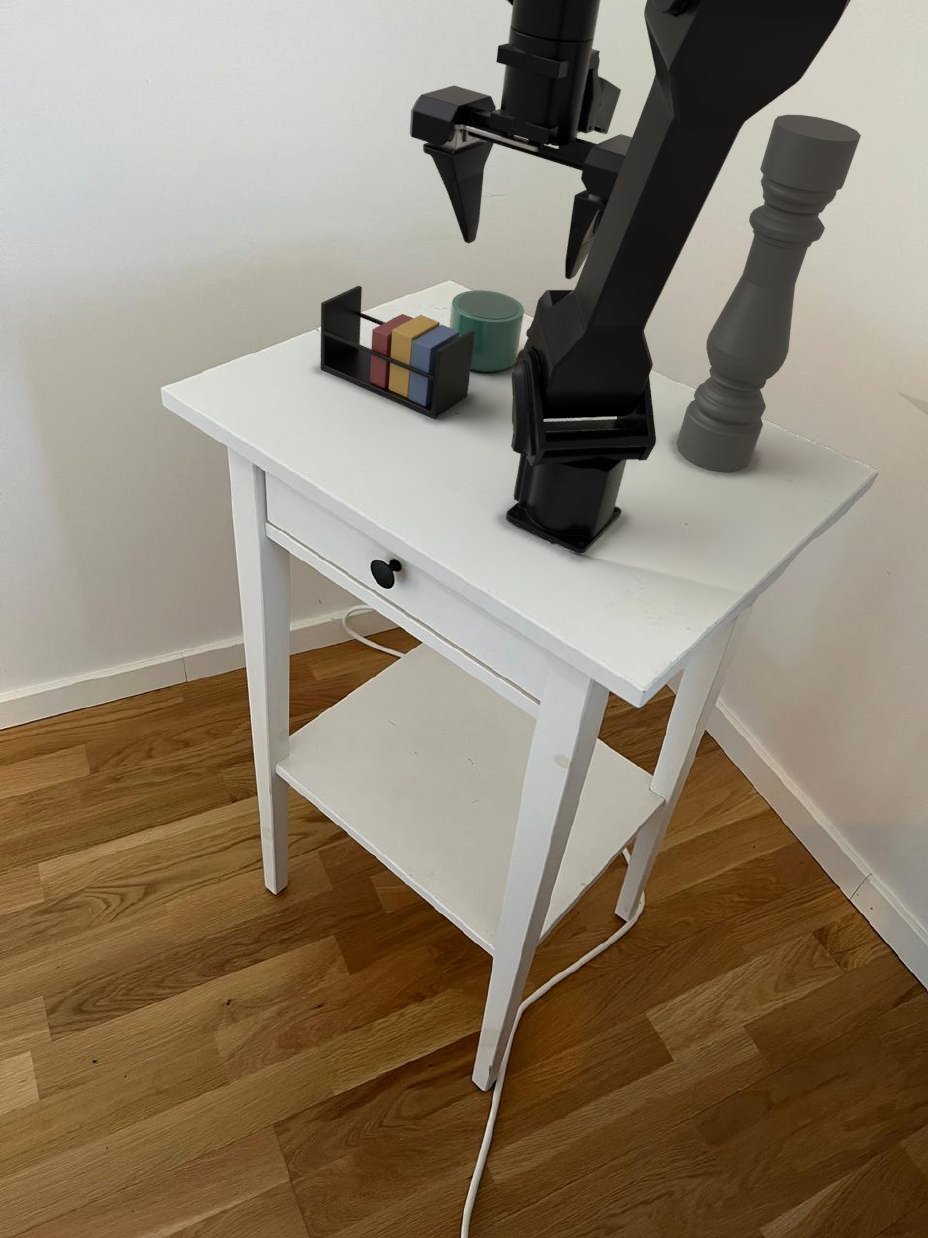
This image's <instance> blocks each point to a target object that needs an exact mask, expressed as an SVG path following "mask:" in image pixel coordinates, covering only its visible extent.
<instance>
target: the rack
mask: <svg viewBox="0 0 928 1238" xmlns="http://www.w3.org/2000/svg"><path fill="white" fill-rule="evenodd" d="M362 293H363V287H362V286H361V285H357V286H354V287H352V288H350V289H348V290H346V291H343V292H341V293H339V294H337V295H335V296H333V297H331V298H328V299H326V300H324V301H322V302H321V303H320V370H322V371H325V372H327V373H329V374H331V375H333V376H335V377H338V378H340V379H342V380H345V381H347V382H349V383H352V384H354V385H357V386H358V387H360V388H363V389H366V390H368V391H370V392H372V393H374V394H377V395H379V396H381V397H383V398H386V399H388V400H390V401H393V402H395V403H397V404H400V405H401V406H404V407H406V408H409V409H411V410H413V411H415V412H418V413H419V414H421V415H425V416H427V417H429V418H431V419H433V420H434V419H436V418H438V417H439V416H441V415H442V414H444V413H445V412H447V411H448V410H450V409H452V408H453V407H455V406H456V405H457V404H459V403H460V402H462V401H464V400H465V399H467V398H468V395H469V394H468V393H469V392H468V391H469V384H470V376H471V370H470V369H471V361H472V352H473V344H474V336H475V331H473V330H470V331H469V332H467V333H465V334H463V335H462V336H460V337H458V338H457V339H455V340H453V341H452V342H450V343H448V344H446V345H445V346H443V347H441V348H440V349H438V350H437V353H436V364H435V374H434V375H431V374H429V373H427V372H424V371H422V370H419V369H417V368H415V367H412V366H410V365H408V364H405V363H403V362H400V361H398V360H396V359H393V358H391V357H389V356H386V355H384V354H381V353H379V352H377V351H374V350H372V349H371V348H369V347H367V346H365V345H362V344H361V320H362V319H364V320H366V321H369V322H371V323H373V324H376V325H378V326H380V325H382V324H384V323H386V321H383V320H381V319H379V318H376V317H373V316H372V315H369V314H366V313H363V312H362V297H363V296H362V295H363V294H362ZM371 355H374V356H376V357H379V358H381V359H383V360H386V361H388V362H390V363H393V364H395V365H397V366H400V367H402V368H405V369H407V370H409V371H412V372H414V373H416V374H419V375H421V376H424V377H426V378H428V379H431V380H433V381H434V385H433V396H432V403H430V404H428V405H427V406H423V405H421V404H419V403H417V402H414V401H412V400H410V399H408V397H405V396H403V395H400V394H398V393H396V392H393V391H391V390H389V386H388V387H386V388H382V387H380V386H378V385H376V384H373V383H371V382H370V370H371Z"/></svg>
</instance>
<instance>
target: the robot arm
mask: <svg viewBox="0 0 928 1238" xmlns="http://www.w3.org/2000/svg"><path fill="white" fill-rule="evenodd" d="M505 1H506V2H507V3H508V4H509V5H510V6H512V8H511V9H512V10H511V11H512V12H511V19H510V26H509V32H508V41H507V43H502V44H499V45H497V53H496V61H495V63H497V64H501V65H505V67H504V75H503V85H502V90H501V91H502V92H501V98H500V99H501V101H500V108H499V109H497V106H496V104H495V102H494V99H493V97H492V96H491V95H489V94H486V93H482V92H478V91H475V90H471V89H469V88H465V87H461V86H458V85H451V86H447V87H444V88H440V89H437V90H432V91H429V92H425V93H422V94H420V95H419V96H418V98H417V99H416V101H415V102H414V104H413V106H412V108H411V110H410V121H409V135H410V137H411V138H413V139H416V140H418V141H419V140H420V141H422V142H425V143H422V144H423V145H422V152H423V153H424V154H425V155H428V156H430V157H431V158H432V161H433V163H434V165H435V167H436V170H437V172H438V174H439V176H440V178H441V181H442V183H443V185H444V188H445V190H446V193H447V195H448V198H449V201H450V203H451V206H452V210H453V212H454V216H455V218H456V221H457V225H458V227H459V230H460V233H461V235H462V238H463V241H464V243H466V244H471V243H473V242H475V241H476V239H477V234H478V229H479V225H480V218H481V207H482V195H483V185H484V175H485V166H486V163H487V161H488V158H489V157H490V154H491V151H492V150H493V147H494V144H495V145H498V146H500V147H504V148H507V149H510V150H513V151H518V152H521V153H524V154H526V155H530V156H533V157H537V158H540V159H543V160H546V161H549V162H553V163H555V164H559V165H562V166H565V167H568V168H571V169H575V170H578V171H581V176H580V180H581V182H582V184H583V186H584V187H585V189H584V190H582V191H580V192H578V193H575V194H574V197H573V204H572V211H571V218H570V224H569V225H570V226H569V230H568V231H569V233H568V238H567V239H568V240H567V247H566V251H565V258H564V259H565V262H564V265H565V266H564V278H565V279H566V280H572V279H573V278H575V277H576V276H577V274H578V272H579V271H580V270H581V271H580V275H579V277H578V280H577V282H576V285H575V287H574V289H546V290H545V291H544V292H543V293H542V294H541V296H540V297H539V299H538V300H537V304H536V308H535V312H534V315H533V319H532V321H531V324H530V326H528V328H527V329H526V333H525V335H526V337H527V339H526V341H525V344H524V346H523V348H522V349H520V350H519V351H518V354H517V360H516V362H515V363H514V364H513V371H512V372H511V386H512V387H511V392H512V405H511V407H512V408H511V423H512V438H511V444H510V447H511V450H512V451H513V452H514V453H517V454H519V461H518V467H517V472H516V473H517V474H516V479H515V486H514V490H513V500H514V501H516V503H515V504H514V505H513V506H512V507H511V508H509V509H508V510H507V511H506V514H505V519H506V521H508V522H509V523H512V524H514V525H516V526H518V527H520V528H522V529H524V530H526V531H529V532H531V533H533V534H535V535H537V536H539V537H541V538H544V539H545V540H547V541H550V542H552V543H554V544H556V545H558V546H559V547H560V546H561V547H563V548H565V549H567V550H569V551H572V552H573V553H575V554H579V555H580V554H585V553H586V552H587V551H588V550H589V549H590V548H591V547H592V546H593V545H594V544H595V543H596V542H597V541H598V540H599V539H600V538H601V537H602V536H603V535H604V534H605V533H606V532H607V531H608V530H609V529H610V528H611V527H612V526H613V525H614V524H615V523H616V522H617V521H618V520H619V519H620V517H621V516H622V509H621V508H620V507H619V506H616V504H617V499H618V496H619V492H620V488H621V483H622V480H623V476H624V472H625V467H626V463H627V461H633V460H637V461H640V462H641V461H647V460H649V459H648V458H649V457H650V456H651V454H652V452H653V450H654V448H655V446H656V443H657V435H656V425H655V416H654V407H653V397H652V388H651V379H650V375H651V372H652V369H653V366H654V363H653V359H652V355H651V352H650V348H649V345H648V341H647V337H646V334H645V329H646V326H647V323H648V321H649V319H650V317H651V315H652V313H653V311H654V309H655V306H656V305H657V303H658V300H659V299H660V297H661V294H662V293H663V290H664V288H665V286H666V285H667V282H668V280H669V278H670V276H671V274H672V271H673V270H674V268H675V265H676V263H677V261H678V260H679V257H680V255H681V253H682V251H683V249H684V247H685V245H686V243H687V241H688V239H689V236H690V234H691V232H692V230H693V228H694V226H695V224H696V222H697V220H698V218H699V216H700V214H701V212H702V210H703V207H704V205H705V203H706V201H707V199H708V198H709V195H710V193H711V191H712V189H713V188H714V185H715V183H716V180H717V178H718V176H719V175H720V172H721V171H722V168H723V167H724V164H725V162H726V160H727V158H728V156H729V154H730V152H731V150H732V148H733V145H734V143H735V142H736V139H737V138H738V135H739V133H740V131H741V130H742V127H743V126H744V124H745V123H746V122H747V121H748V120H749V119H750V118H752V117H753V116H754V115H756V114H757V113H759V112H760V111H761V110H763V109H764V108H766V107H767V106H769V104H771V103H772V102H774V101H775V100H776V99H777V98H779V97H780V96H781V95H784V93H785V92H787V91H788V90H789V89H791V88H792V87H793V86H795V85H796V84H797V83H798V82H800V81H801V79H802V78H803V77H804V76H805V74H806V73H807V71H808V69H810V67H811V65H812V63H813V62H814V61H815V59H816V57H817V56H818V54H819V53H820V52H821V50H822V48H823V47H824V46H825V44H826V43H827V41H828V39H829V38H830V37H831V35H832V33H833V32H834V30H835V29H836V27H837V26H838V24H839V22H840V20H841V19H842V17H843V15H844V13H845V11H846V9H847V7H848V6H849V4H850V2H851V0H646V2H645V6H644V11H643V15H644V20H645V27H646V31H647V36H648V40H649V45H650V50H651V51H650V52H651V55H652V61H653V66H654V71H655V73H654V77H653V81H652V84H651V87H650V89H649V92H648V95H647V98H646V100H645V102H644V105H643V108H642V111H641V113H640V116H639V118H638V121H637V124H636V126H635V129H634V132H633V135H632V136H629V135H627V134H622V133H620V134H618V135H615V136H612V137H610V138H608V139H606V140H603V141H601V142H599V143H595V142H592V141H589V140H586V139H582V138H578V135H579V133H582V134H589V133H591V132H593V131H594V132H595V133H596V132H597V133H599V134H602V135H608V134H609V129H610V126H611V124H612V120H613V117H614V113H615V111H616V108H617V105H618V102H619V99H620V95H621V93H622V89H620V87H618V86H617V85H615V84H613V83H612V82H611V81H609V80H607V79H606V78H604V77H601V76H600V75H599V67H600V62H601V59H600V50H598V49H594V48H593V46H594V40H595V35H596V27H597V23H598V17H599V11H600V5H601V0H505ZM550 145H551V146H550ZM556 147H558V148H556ZM583 264H584V265H583ZM582 265H583V267H582ZM581 268H582V269H581ZM587 418H589V419H587ZM593 418H602V419H593ZM603 418H605V419H603ZM607 418H608V419H607ZM558 419H559V420H558ZM560 419H561V420H560ZM563 419H578V420H563ZM545 420H547V421H545ZM548 420H550V421H548Z"/></svg>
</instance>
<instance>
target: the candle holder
mask: <svg viewBox="0 0 928 1238" xmlns="http://www.w3.org/2000/svg"><path fill="white" fill-rule="evenodd" d="M861 137H862V135H861V133H859V131H858V130H856V129H855V128H852V127H850V126H849V125H847V124H844V123H840V122H838V121H834V120H831V119H827V118H823V117H818V116H812V115H805V114H784V115H779V116H777V117H775V119H774V120H773V124H772V127H771V131H770V133H769V137H768V141H767V145H766V147H765V151H764V154H763V158H762V161H761V165H760V167H759V168H760V169H759V170H760V171H761V173H762V178H761V179H760V185H761V188H762V199H763V200H764V201H763V202H764V203H763V204H762V205H759V206H757V207H755V208H754V209H753V210H752V211H751V212H750V213H749V217H748V222H749V225H750V227H751V229H752V234H753V237H752V242H751V244H750V248H749V251H748V255H747V258H746V261H745V265H744V268H743V271H742V274H741V276H740V277H739V280H738V282H737V283H736V285H735V286H734V288H733V290H732V292H731V294H730V295H729V298H728V299H727V301H726V303H725V305H724V307H723V309H722V310H721V312H720V314H718V315H719V316H718V317H717V319H716V321H715V323H714V324H713V326H712V328H711V330H710V332H709V333H708V336H707V338H706V347H705V348H706V354H707V359H708V362H709V364H710V368H709V371H708V373H709V375H710V376H709V377H708V378H707V379H706V380H705V381H704V382H702V383H700V384H699V385H698V386H697V388H696V390H695V391H694V393H693V398H694V399H693V400H691V401H690V402H689V404H688V405H687V407H686V409H685V412H684V417H683V420H682V423H681V427H680V430H679V434H678V437H677V440H676V446H677V450H678V452H679V453H680V454H681V456H682V457H684V459H685V460H687V461H688V462H690V463H693V464H694V465H695V466H698V467H700V468H704V469H706V470H709V471H714V472H724V473H730V472H738V471H741V470H743V469H744V468H747V467H748V466H749V464H750V462H751V460H752V457H753V454H754V452H755V448H756V446H757V443H758V440H759V438H760V434H761V432H762V429H763V427H764V423H763V421H762V417H763V416H764V413H765V411H766V407H767V405H766V402H765V399H764V396H763V393H762V391H761V390H762V389H764V388H765V385H766V384H767V381H768V380H769V379H771V378H772V377H774V375H776V374H777V373H778V372H779V371H780V369H782V367H783V365H784V363H785V361H786V359H787V357H788V354H789V351H790V342H791V341H790V338H791V330H792V320H793V310H794V309H793V308H794V300H795V290H796V284H797V281H798V278H799V276H800V272H801V269H802V266H803V263H804V260H805V257H806V254H807V252H808V248H810V247H811V246H812V244H813V243H815V242H817V241H819V240H821V237H822V236H823V234H824V232H825V229H826V227H825V225H824V224H823V222H822V221H821V219H820V217H819V215H820V214H821V213H823V212H824V210H825V209H826V207H827V206H828V205H829V204H831V202H833V200H834V199H835V198H836V197H837V191H839V190H842V188H843V187H844V185H845V183H846V180H847V177H848V173H849V170H850V168H851V165H852V162H853V159H854V156H855V153H856V150H857V148H858V145H859V143H860V139H861Z"/></svg>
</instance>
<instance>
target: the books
mask: <svg viewBox="0 0 928 1238" xmlns="http://www.w3.org/2000/svg"><path fill="white" fill-rule="evenodd" d="M440 323H441V322H439V321H438V320H435V319H432V318H430V317H428V316H425V315H423V314H419V315H418V316H415V317H412V316H409V315H407V314H404V313H401V314H399V315H397V316H395V317H392V318H391V319H389V320H388V321H385V323H384V324H382V325H378V326H376V327H374V328H373V329H372V330H371V348H370V349H372V350H374V351H377V352H379V353H381V354H384V355H386V356H389V357H391V358H393V359H396V360H398V361H400V362H403V363H405V364H408V365H410V366H412V367H415V368H417V369H419V370H422V371H424V372H427V373H429V374H431V375H434V374H435V364H436V353H437V350H438V349H440V348H441V347H443V346H445V345H446V344H448V343H450V342H452V341H453V340H455V339H457V338H458V337H459V333H460V332H459V331H457V330H454V329H452V328H449V326H447V325H444V324H440ZM370 382H371V383H373V384H376V385H378V386H380V387H382V388H386V387H388V386H389V390H391V391H393V392H396V393H398V394H400V395H403V396H405V397H408V399H410V400H412V401H414V402H417V403H419V404H421V405H423V406H427V405H428V404H430V403H432V396H433V385H434V381H433V380H431V379H428V378H426V377H424V376H421V375H419V374H416V373H414V372H412V371H409V370H407V369H405V368H402V367H400V366H397V365H395V364H393V363H390V362H388V361H386V360H383V359H381V358H379V357H376V356H374V355H371V370H370Z"/></svg>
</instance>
